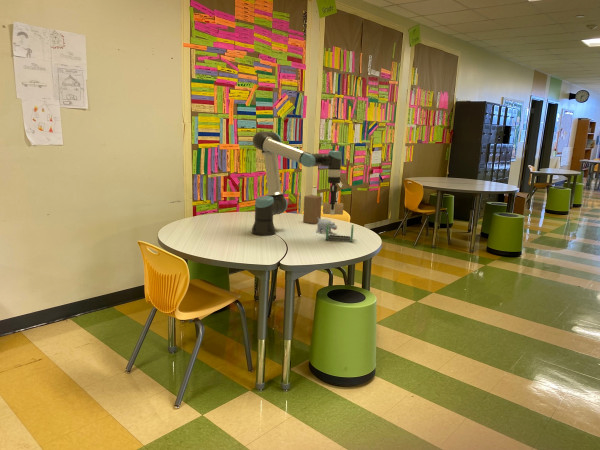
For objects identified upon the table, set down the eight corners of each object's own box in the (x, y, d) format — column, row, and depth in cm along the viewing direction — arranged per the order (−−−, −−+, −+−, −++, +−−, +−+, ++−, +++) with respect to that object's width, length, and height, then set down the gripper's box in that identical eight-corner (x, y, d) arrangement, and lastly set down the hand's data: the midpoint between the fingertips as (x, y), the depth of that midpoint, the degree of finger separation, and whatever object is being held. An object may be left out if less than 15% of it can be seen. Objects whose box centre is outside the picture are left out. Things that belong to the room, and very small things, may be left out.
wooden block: (320, 222, 322) (322, 196, 318) (314, 224, 313) (315, 197, 309) (309, 220, 327) (310, 194, 323) (302, 222, 319) (303, 195, 315)
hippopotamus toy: (332, 235, 279) (332, 221, 277) (312, 232, 287) (313, 218, 285) (339, 233, 288) (340, 219, 286) (320, 229, 296) (321, 216, 294)
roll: (322, 214, 262) (322, 203, 261) (323, 213, 269) (323, 202, 268) (342, 215, 260) (342, 203, 260) (343, 214, 267) (343, 202, 266)
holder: (325, 240, 264) (326, 226, 262) (326, 236, 274) (327, 223, 272) (352, 242, 262) (353, 228, 260) (352, 238, 272) (353, 224, 270)
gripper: (339, 177, 251) (337, 216, 255) (341, 175, 270) (340, 211, 274) (326, 177, 252) (325, 216, 256) (329, 175, 271) (328, 211, 275)
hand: (332, 213), depth 265 cm, fingers closed on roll, 7 cm apart
